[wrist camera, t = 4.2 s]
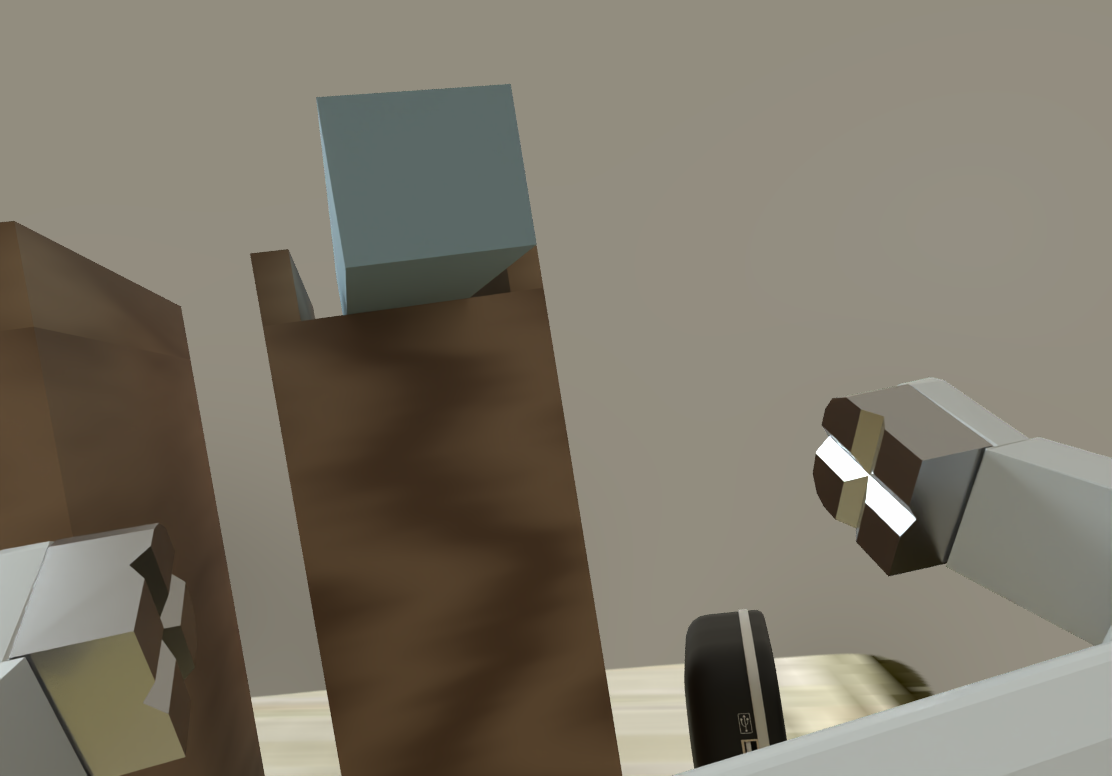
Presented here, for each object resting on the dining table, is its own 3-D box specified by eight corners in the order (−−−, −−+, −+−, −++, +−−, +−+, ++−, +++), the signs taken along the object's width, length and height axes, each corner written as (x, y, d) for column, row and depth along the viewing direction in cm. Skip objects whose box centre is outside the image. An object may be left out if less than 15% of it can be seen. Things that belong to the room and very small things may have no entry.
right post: (420, 1228, 22) (250, 253, 21) (392, 900, 37) (290, 310, 36) (677, 1116, 24) (532, 221, 23) (555, 846, 39) (462, 287, 38)
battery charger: (715, 835, 38) (678, 604, 37) (796, 832, 37) (760, 595, 37) (719, 946, 31) (674, 664, 31) (818, 944, 30) (774, 655, 30)
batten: (345, 267, 14) (316, 97, 14) (347, 343, 35) (336, 277, 35) (536, 244, 15) (510, 84, 15) (425, 332, 36) (415, 267, 36)
